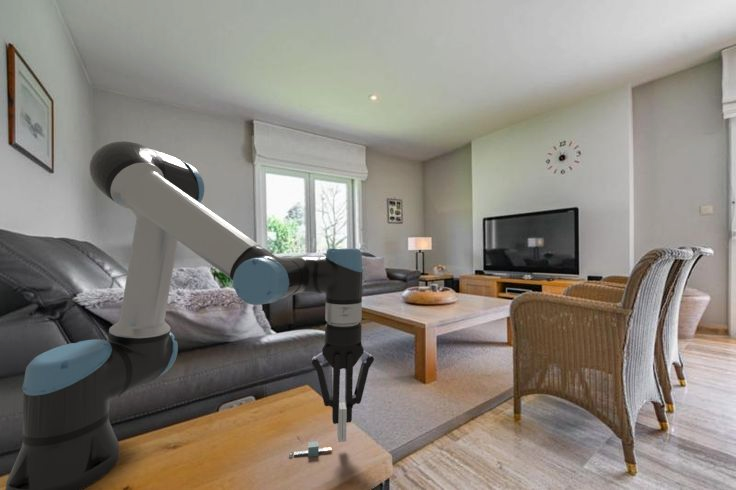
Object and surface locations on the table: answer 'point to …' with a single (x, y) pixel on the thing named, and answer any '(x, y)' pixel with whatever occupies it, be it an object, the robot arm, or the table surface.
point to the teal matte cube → (313, 448)
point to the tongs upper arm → (304, 453)
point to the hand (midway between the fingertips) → (341, 437)
